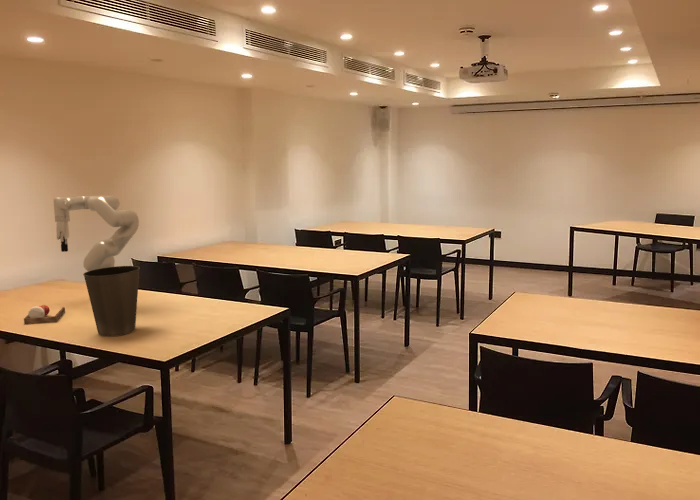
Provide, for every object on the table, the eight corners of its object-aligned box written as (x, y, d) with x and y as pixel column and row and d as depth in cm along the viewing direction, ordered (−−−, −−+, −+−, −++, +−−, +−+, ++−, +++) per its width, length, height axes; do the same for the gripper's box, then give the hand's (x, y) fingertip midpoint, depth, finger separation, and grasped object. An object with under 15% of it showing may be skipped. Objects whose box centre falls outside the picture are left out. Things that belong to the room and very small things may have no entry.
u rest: (65, 312, 326) (64, 307, 325) (56, 322, 306) (56, 316, 305) (34, 314, 322) (34, 308, 322) (24, 324, 302) (23, 318, 301)
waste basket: (104, 342, 272) (99, 277, 267) (77, 335, 283) (73, 272, 278) (153, 328, 294) (149, 268, 290) (126, 322, 305) (123, 264, 301)
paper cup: (52, 303, 320) (44, 306, 306) (51, 317, 320) (43, 321, 307) (36, 302, 318) (27, 306, 305) (35, 317, 319) (27, 321, 305)
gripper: (57, 217, 341) (60, 249, 344) (52, 220, 327) (54, 253, 330) (72, 217, 343) (74, 249, 346) (66, 220, 329) (69, 253, 332)
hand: (64, 251), depth 338 cm, fingers closed
